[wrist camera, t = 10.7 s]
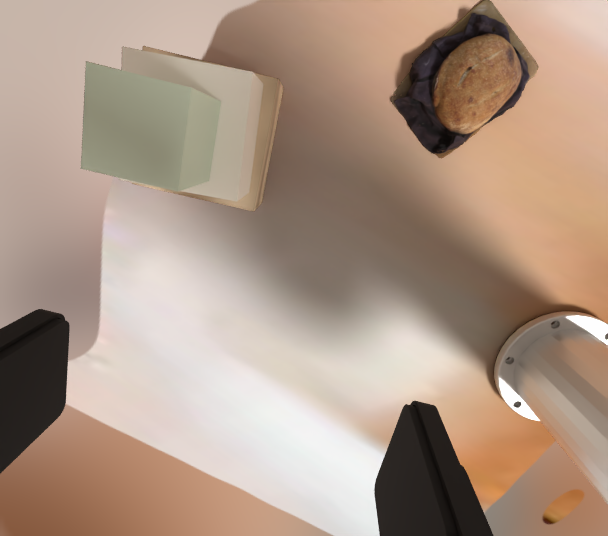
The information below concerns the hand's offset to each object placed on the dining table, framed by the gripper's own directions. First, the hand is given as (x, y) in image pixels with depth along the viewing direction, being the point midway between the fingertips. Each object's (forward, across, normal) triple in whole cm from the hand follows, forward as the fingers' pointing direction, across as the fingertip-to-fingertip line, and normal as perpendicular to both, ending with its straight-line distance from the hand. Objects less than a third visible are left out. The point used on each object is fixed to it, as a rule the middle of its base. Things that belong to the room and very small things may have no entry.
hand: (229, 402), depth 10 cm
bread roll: (+28, -10, -15) cm, 33 cm away
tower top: (+22, +9, -6) cm, 24 cm away
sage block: (+16, +9, -6) cm, 20 cm away
